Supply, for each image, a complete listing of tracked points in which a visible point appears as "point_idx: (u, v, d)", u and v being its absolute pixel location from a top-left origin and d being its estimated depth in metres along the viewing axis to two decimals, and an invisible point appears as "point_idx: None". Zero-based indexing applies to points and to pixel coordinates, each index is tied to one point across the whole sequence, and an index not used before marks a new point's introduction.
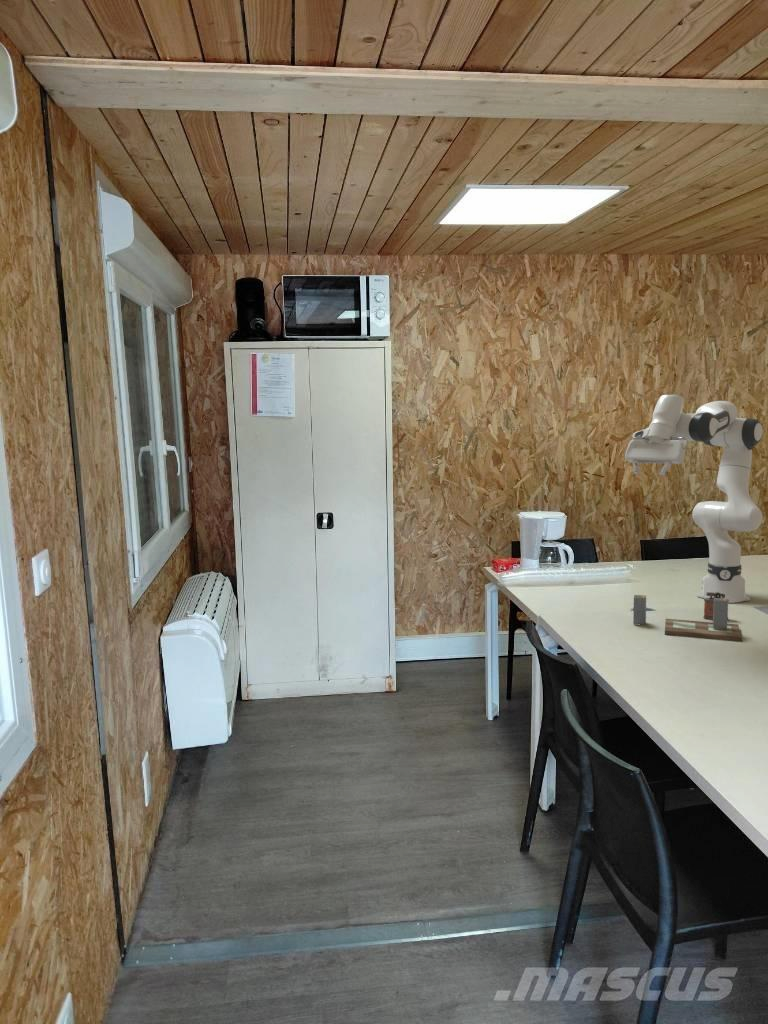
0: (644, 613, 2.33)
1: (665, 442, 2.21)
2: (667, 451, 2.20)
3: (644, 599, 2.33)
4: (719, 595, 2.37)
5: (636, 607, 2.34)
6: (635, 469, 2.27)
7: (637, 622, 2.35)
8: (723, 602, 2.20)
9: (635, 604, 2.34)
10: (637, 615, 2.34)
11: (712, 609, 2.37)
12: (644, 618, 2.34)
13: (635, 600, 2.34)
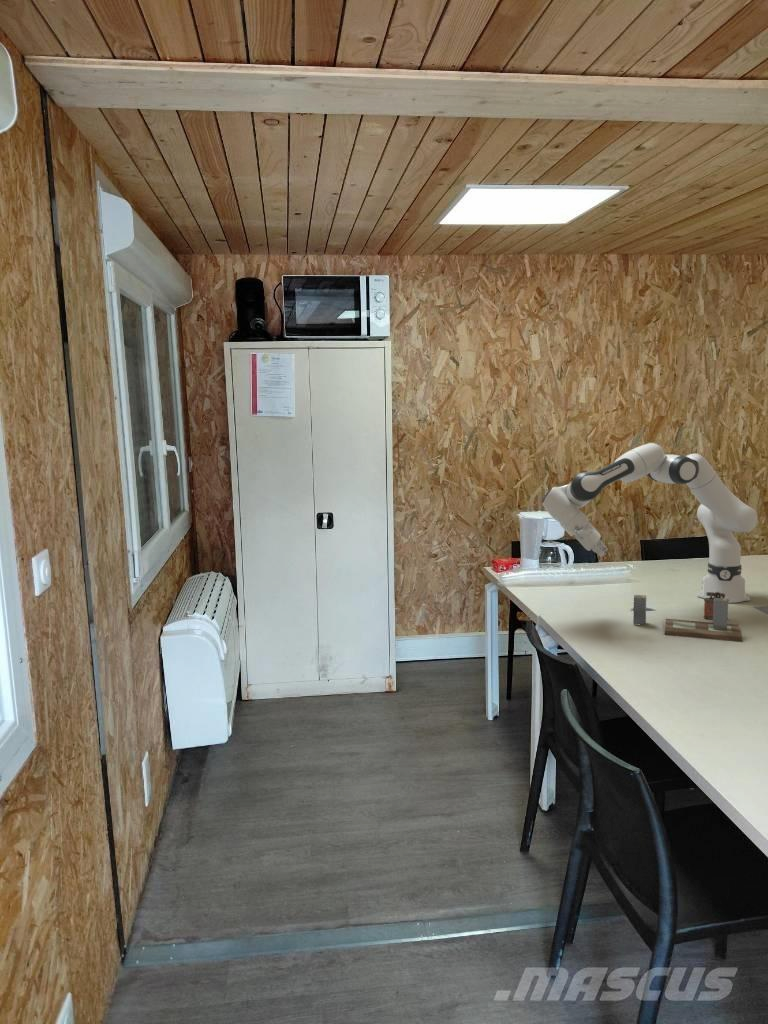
0: (644, 613, 2.33)
1: None
2: None
3: (644, 599, 2.33)
4: (719, 595, 2.37)
5: (636, 607, 2.34)
6: None
7: (637, 622, 2.35)
8: (723, 602, 2.20)
9: (635, 604, 2.34)
10: (637, 615, 2.34)
11: (712, 609, 2.37)
12: (644, 618, 2.34)
13: (635, 600, 2.34)
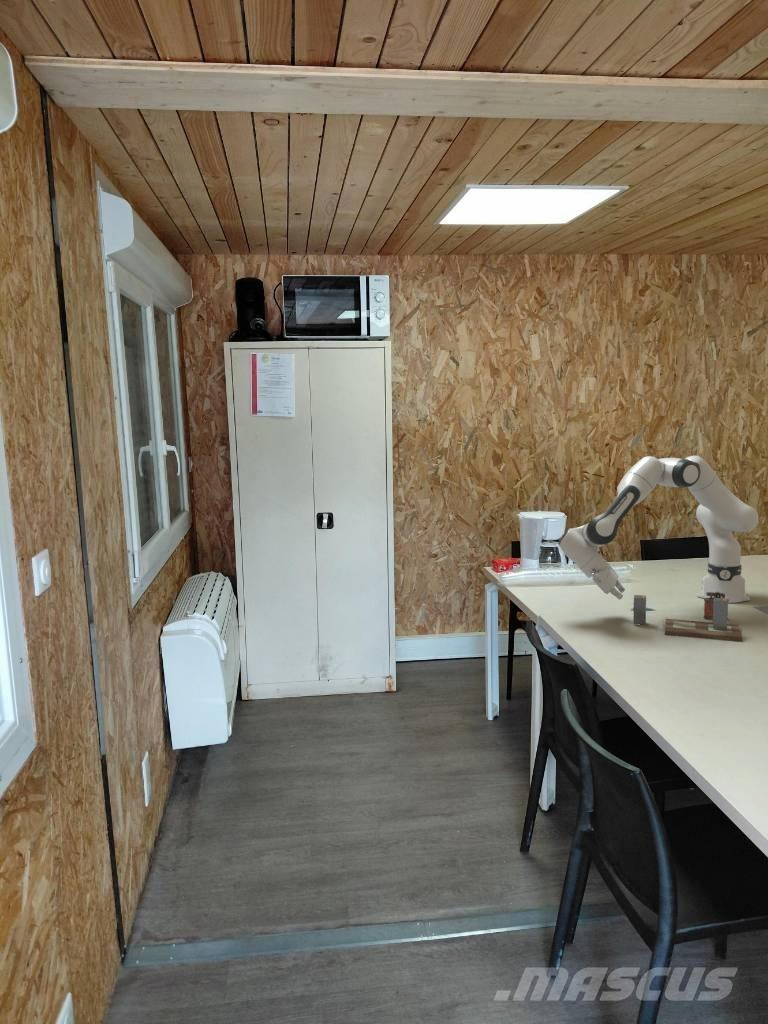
0: (644, 613, 2.33)
1: None
2: None
3: (644, 599, 2.33)
4: (719, 595, 2.37)
5: (636, 607, 2.34)
6: None
7: (637, 622, 2.35)
8: (723, 602, 2.20)
9: (635, 604, 2.34)
10: (637, 615, 2.34)
11: (712, 609, 2.37)
12: (644, 618, 2.34)
13: (635, 600, 2.34)
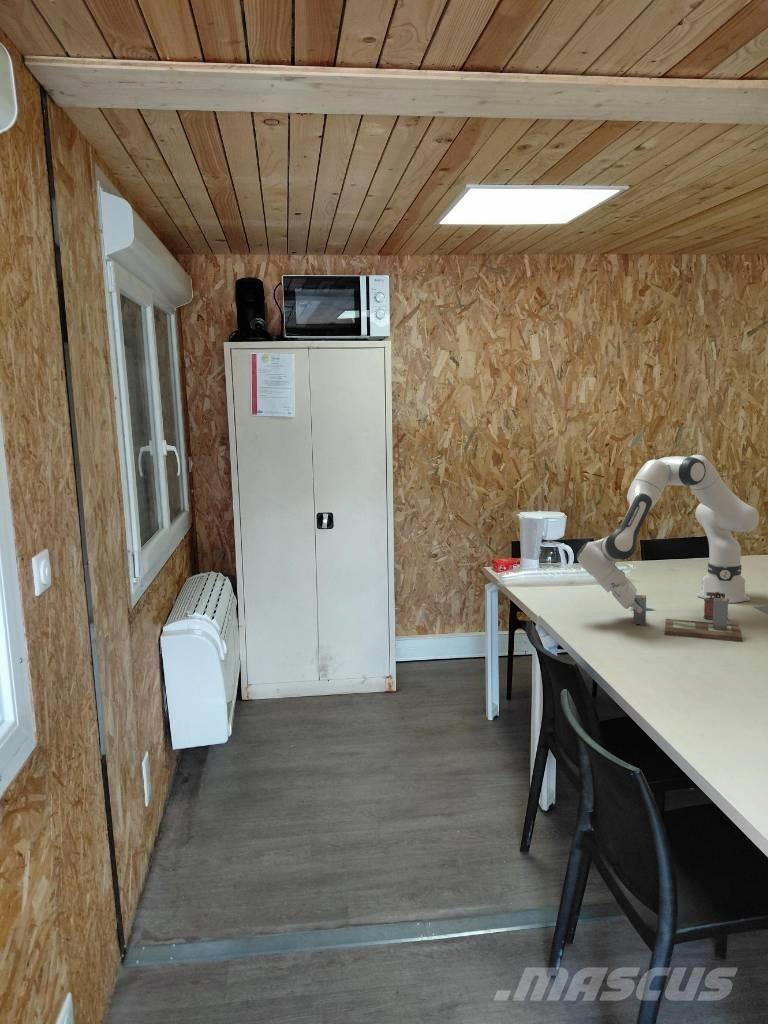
0: (644, 613, 2.33)
1: None
2: None
3: (644, 599, 2.33)
4: (719, 595, 2.37)
5: None
6: None
7: (637, 622, 2.35)
8: (723, 602, 2.20)
9: None
10: (637, 615, 2.34)
11: (712, 609, 2.37)
12: (644, 618, 2.34)
13: (635, 600, 2.34)
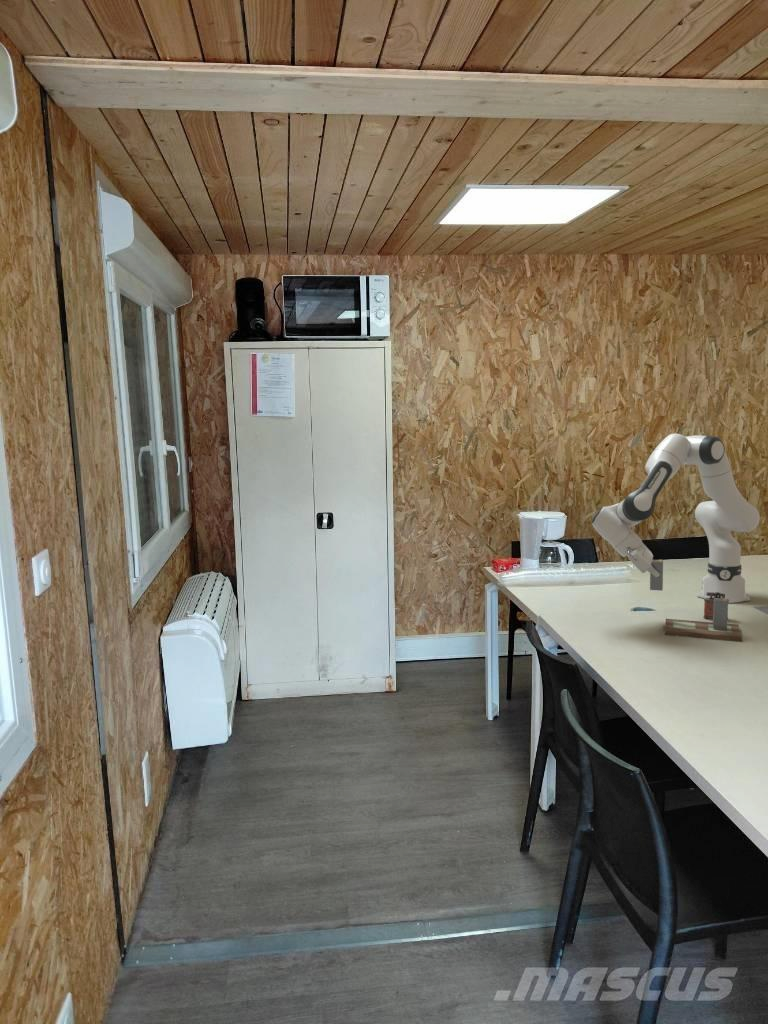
0: (661, 577, 2.29)
1: None
2: None
3: (661, 563, 2.28)
4: (719, 595, 2.37)
5: None
6: None
7: (654, 587, 2.30)
8: (723, 602, 2.20)
9: None
10: (653, 580, 2.30)
11: (712, 609, 2.37)
12: (661, 583, 2.29)
13: (652, 564, 2.29)
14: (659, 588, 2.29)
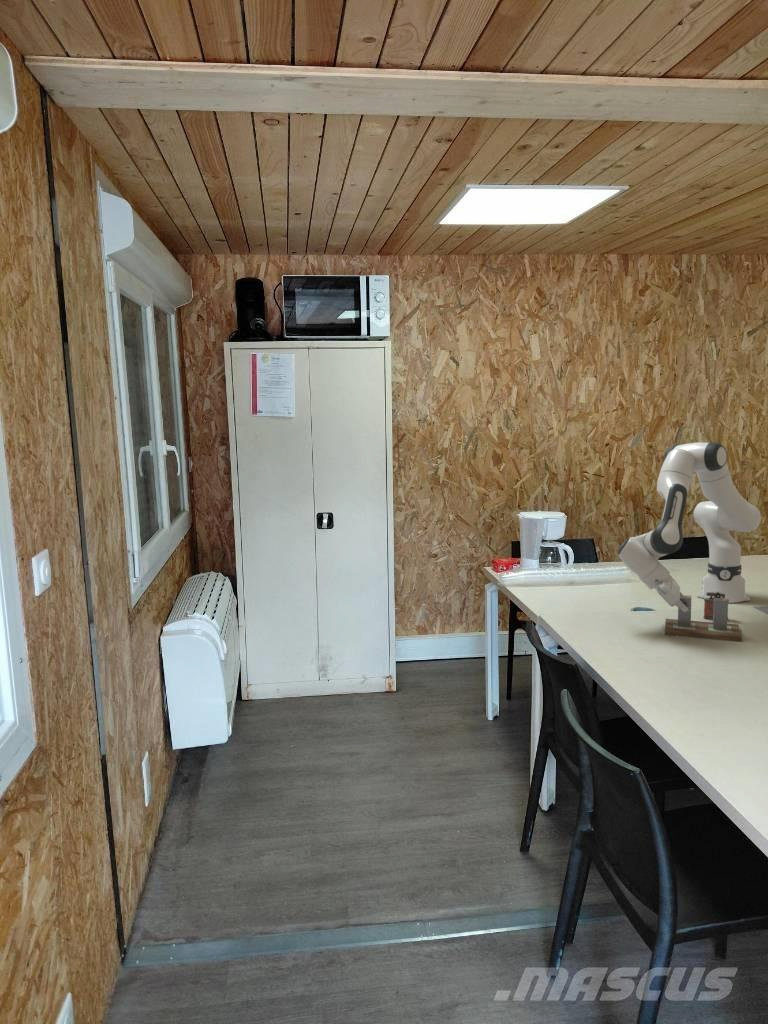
0: (689, 614, 2.25)
1: None
2: None
3: (689, 599, 2.24)
4: (719, 595, 2.37)
5: None
6: None
7: (682, 624, 2.26)
8: (723, 602, 2.20)
9: None
10: (681, 616, 2.26)
11: (712, 609, 2.37)
12: (689, 619, 2.25)
13: None
14: (687, 625, 2.25)
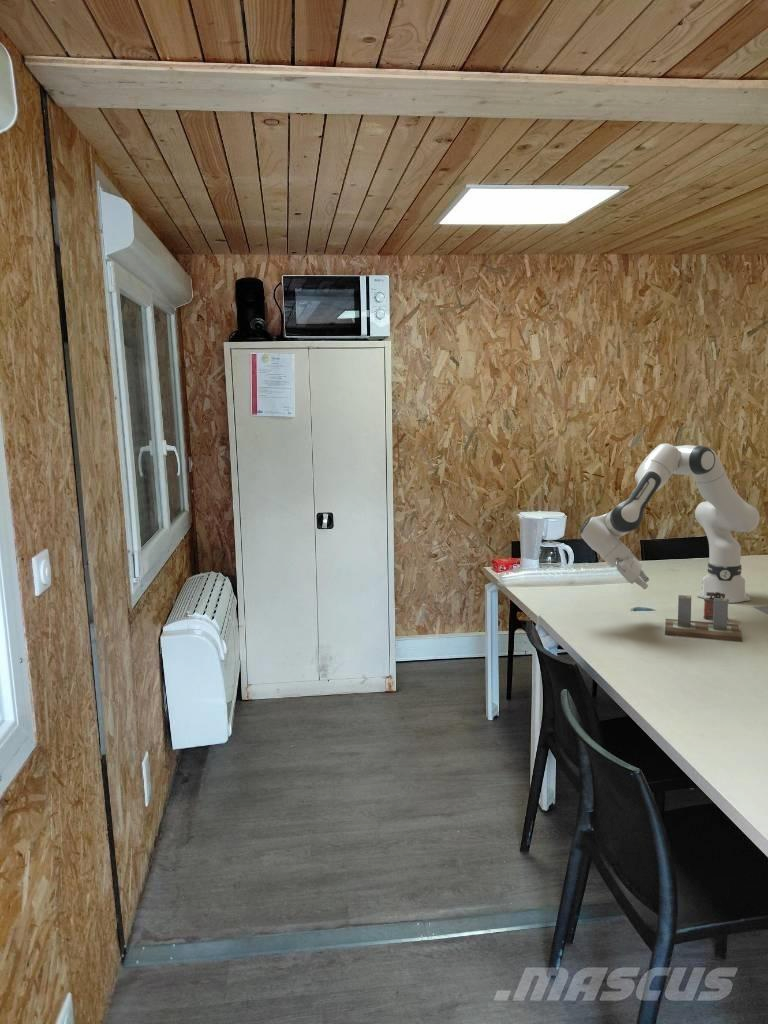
0: (689, 614, 2.25)
1: None
2: None
3: (689, 599, 2.24)
4: (719, 595, 2.37)
5: (681, 607, 2.25)
6: None
7: (682, 624, 2.26)
8: (723, 602, 2.20)
9: (680, 605, 2.25)
10: (681, 616, 2.26)
11: (712, 609, 2.37)
12: (689, 619, 2.25)
13: (680, 601, 2.25)
14: (687, 625, 2.25)
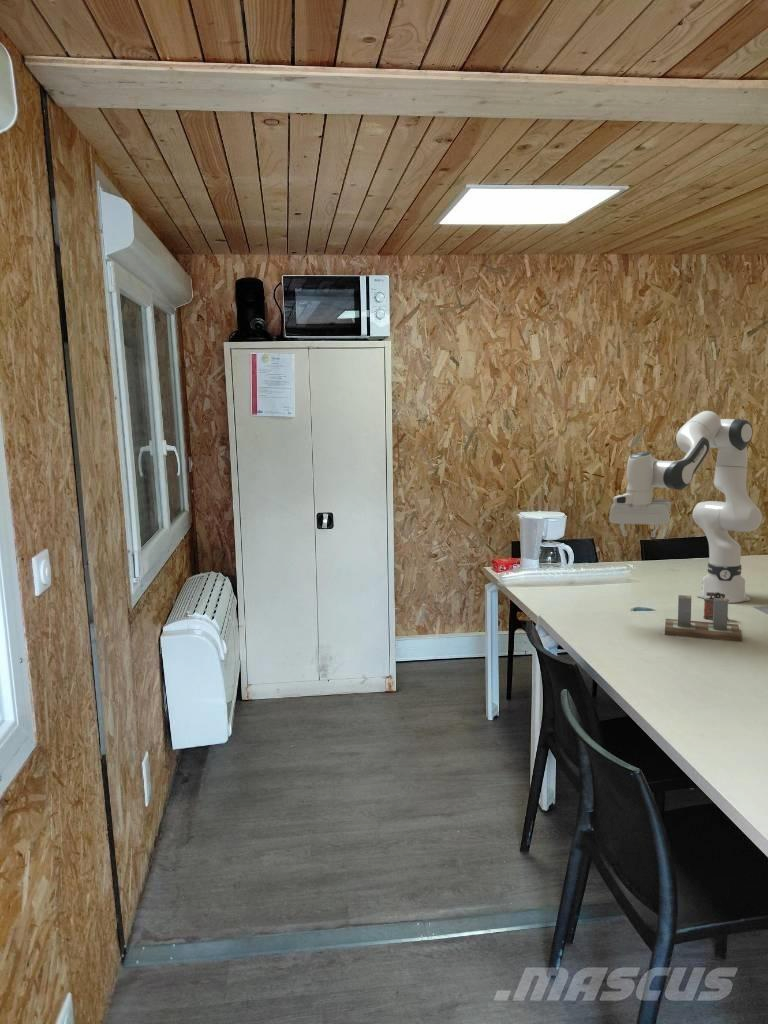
0: (689, 614, 2.25)
1: (650, 506, 2.32)
2: (655, 516, 2.31)
3: (689, 599, 2.24)
4: (719, 595, 2.37)
5: (681, 607, 2.25)
6: (624, 533, 2.37)
7: (682, 624, 2.26)
8: (723, 602, 2.20)
9: (680, 605, 2.25)
10: (681, 616, 2.26)
11: (712, 609, 2.37)
12: (689, 619, 2.25)
13: (680, 601, 2.25)
14: (687, 625, 2.25)
